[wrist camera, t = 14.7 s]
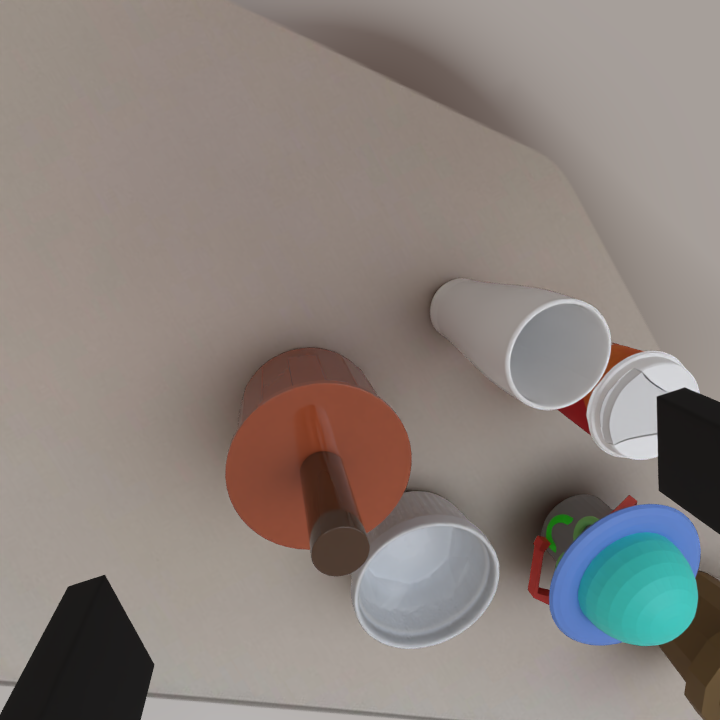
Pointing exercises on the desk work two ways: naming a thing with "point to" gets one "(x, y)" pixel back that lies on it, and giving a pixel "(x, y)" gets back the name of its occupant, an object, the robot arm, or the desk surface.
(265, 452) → the lid
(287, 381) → the jar
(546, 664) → the desk surface
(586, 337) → the white plastic tumbler
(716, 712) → the flowerpot
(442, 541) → the ramekin
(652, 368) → the paper cup
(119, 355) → the desk surface
